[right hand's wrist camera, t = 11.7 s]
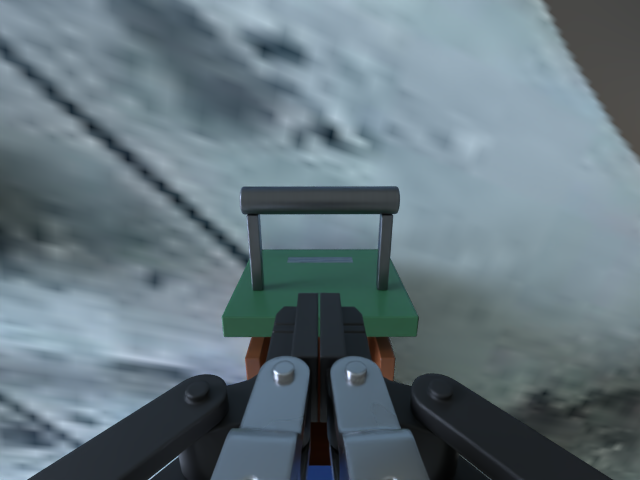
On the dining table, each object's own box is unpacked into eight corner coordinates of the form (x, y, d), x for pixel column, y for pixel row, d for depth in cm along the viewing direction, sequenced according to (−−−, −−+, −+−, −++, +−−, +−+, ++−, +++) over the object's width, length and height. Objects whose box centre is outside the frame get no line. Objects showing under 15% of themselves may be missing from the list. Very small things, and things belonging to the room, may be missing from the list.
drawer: (247, 169, 23) (207, 200, 15) (391, 168, 23) (432, 200, 15) (265, 417, 31) (245, 531, 22) (374, 417, 31) (395, 531, 22)
